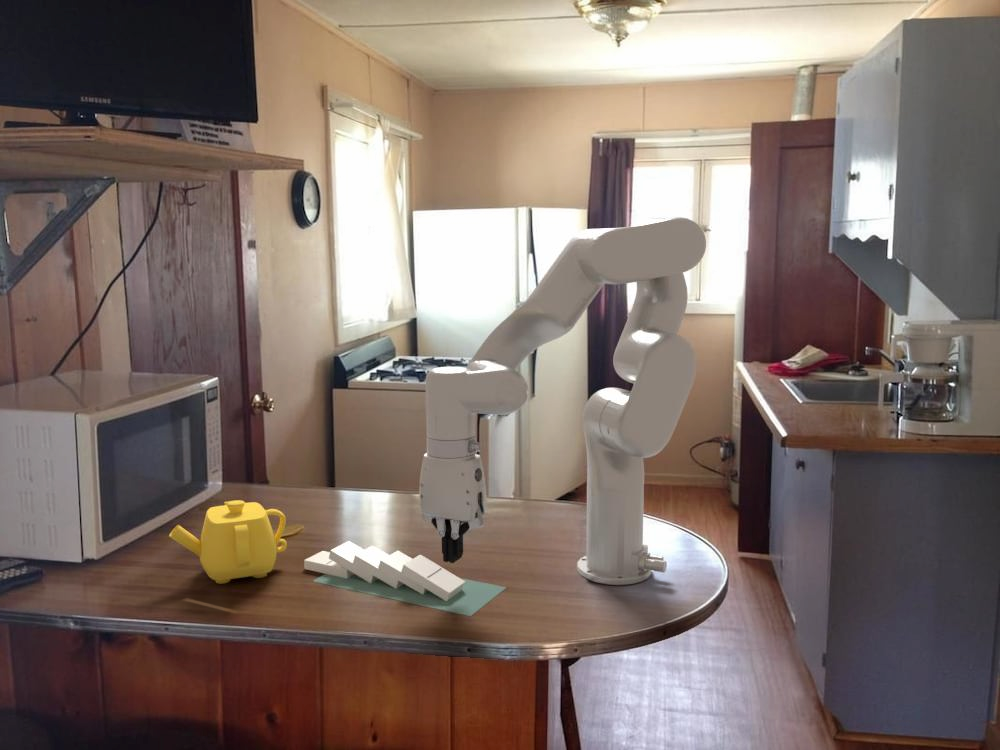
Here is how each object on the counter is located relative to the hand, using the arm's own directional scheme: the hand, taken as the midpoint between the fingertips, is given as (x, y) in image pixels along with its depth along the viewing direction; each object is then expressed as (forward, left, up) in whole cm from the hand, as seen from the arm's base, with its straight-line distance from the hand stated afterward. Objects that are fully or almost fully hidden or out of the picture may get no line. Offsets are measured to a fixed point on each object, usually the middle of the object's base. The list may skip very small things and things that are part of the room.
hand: (452, 559), depth 136 cm
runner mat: (+8, 0, -6) cm, 10 cm away
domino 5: (-1, +1, -5) cm, 5 cm away
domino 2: (+14, 0, -5) cm, 15 cm away
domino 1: (+19, 0, -5) cm, 20 cm away
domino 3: (+9, 0, -5) cm, 10 cm away
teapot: (+38, +9, -6) cm, 40 cm away
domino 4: (+4, 0, -5) cm, 6 cm away
